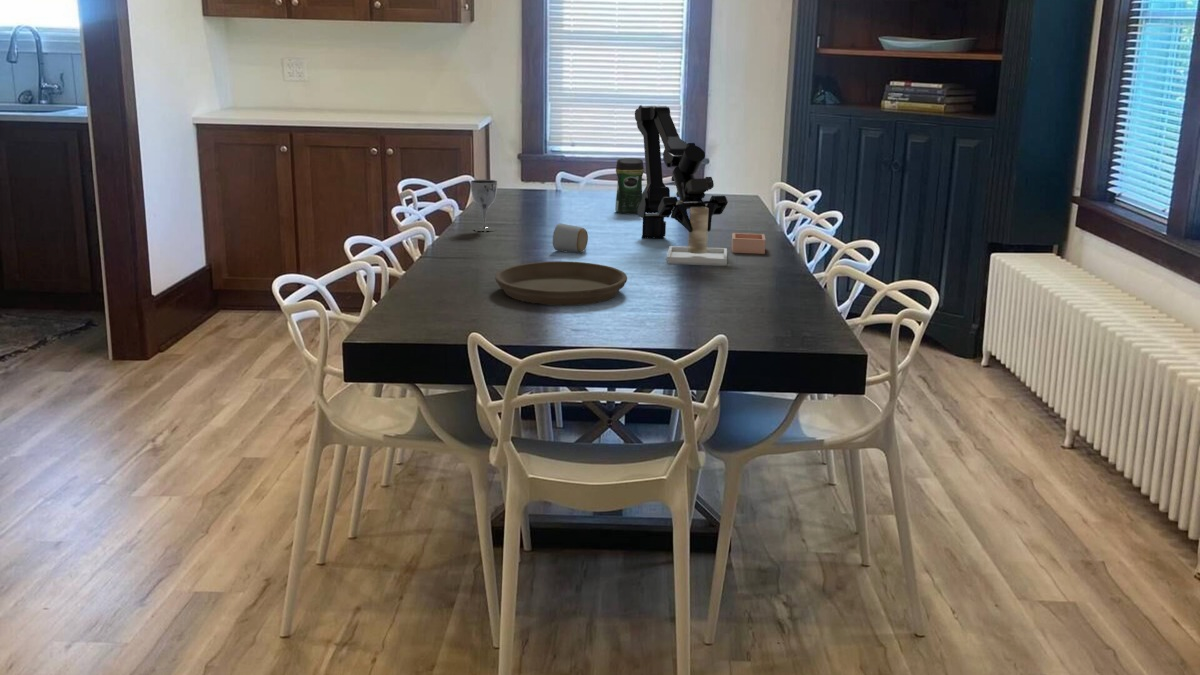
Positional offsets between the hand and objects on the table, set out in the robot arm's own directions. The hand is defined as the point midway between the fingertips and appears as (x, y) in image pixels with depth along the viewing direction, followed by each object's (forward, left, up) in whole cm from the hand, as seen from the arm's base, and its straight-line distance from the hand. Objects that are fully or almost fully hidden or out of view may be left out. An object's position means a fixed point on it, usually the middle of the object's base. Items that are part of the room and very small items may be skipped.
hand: (700, 231), depth 299 cm
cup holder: (+13, +14, -8) cm, 21 cm away
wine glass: (-67, +34, -8) cm, 75 cm away
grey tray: (-1, +1, -8) cm, 8 cm away
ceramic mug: (-36, +6, -8) cm, 37 cm away
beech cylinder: (-1, +1, -6) cm, 6 cm away
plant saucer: (-32, -45, -8) cm, 55 cm away
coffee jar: (-26, +78, -8) cm, 83 cm away
